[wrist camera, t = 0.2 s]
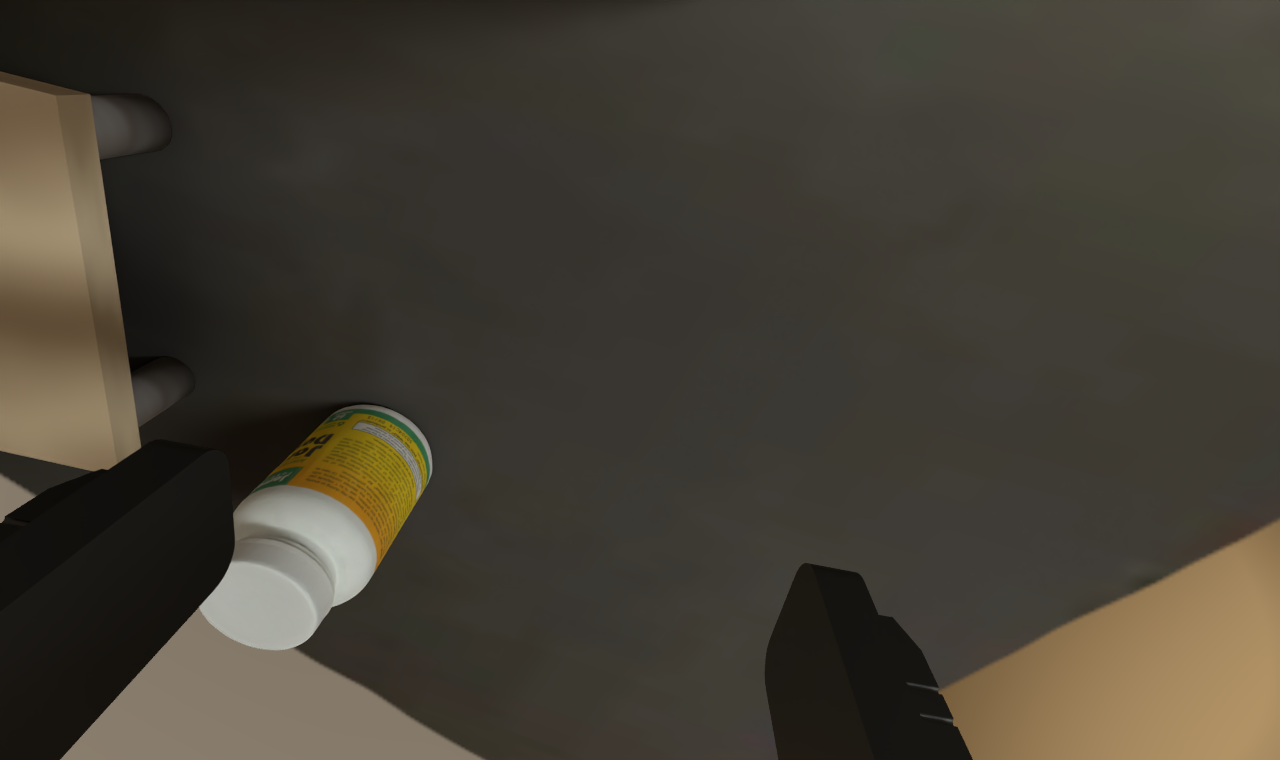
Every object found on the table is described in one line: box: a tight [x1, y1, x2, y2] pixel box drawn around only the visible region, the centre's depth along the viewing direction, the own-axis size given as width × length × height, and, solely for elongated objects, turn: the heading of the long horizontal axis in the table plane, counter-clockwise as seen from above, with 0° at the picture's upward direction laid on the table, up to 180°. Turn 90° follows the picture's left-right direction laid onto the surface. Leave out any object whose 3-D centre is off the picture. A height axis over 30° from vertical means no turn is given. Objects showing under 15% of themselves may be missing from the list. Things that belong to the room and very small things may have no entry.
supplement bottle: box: [199, 405, 432, 650], centre depth 25 cm, size 6×6×10 cm
